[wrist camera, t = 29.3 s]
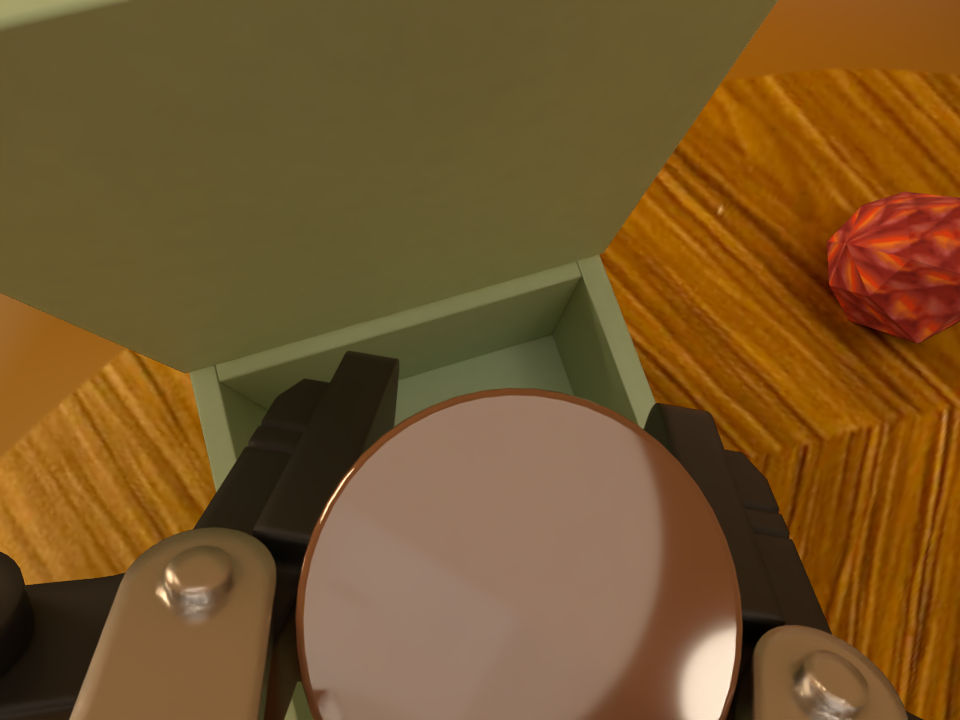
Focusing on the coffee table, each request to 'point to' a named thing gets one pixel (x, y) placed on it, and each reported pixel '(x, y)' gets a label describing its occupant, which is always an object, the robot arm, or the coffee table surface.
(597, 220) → the chest lid
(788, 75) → the coffee table surface
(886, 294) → the red faceted ball
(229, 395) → the chest
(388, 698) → the canister
